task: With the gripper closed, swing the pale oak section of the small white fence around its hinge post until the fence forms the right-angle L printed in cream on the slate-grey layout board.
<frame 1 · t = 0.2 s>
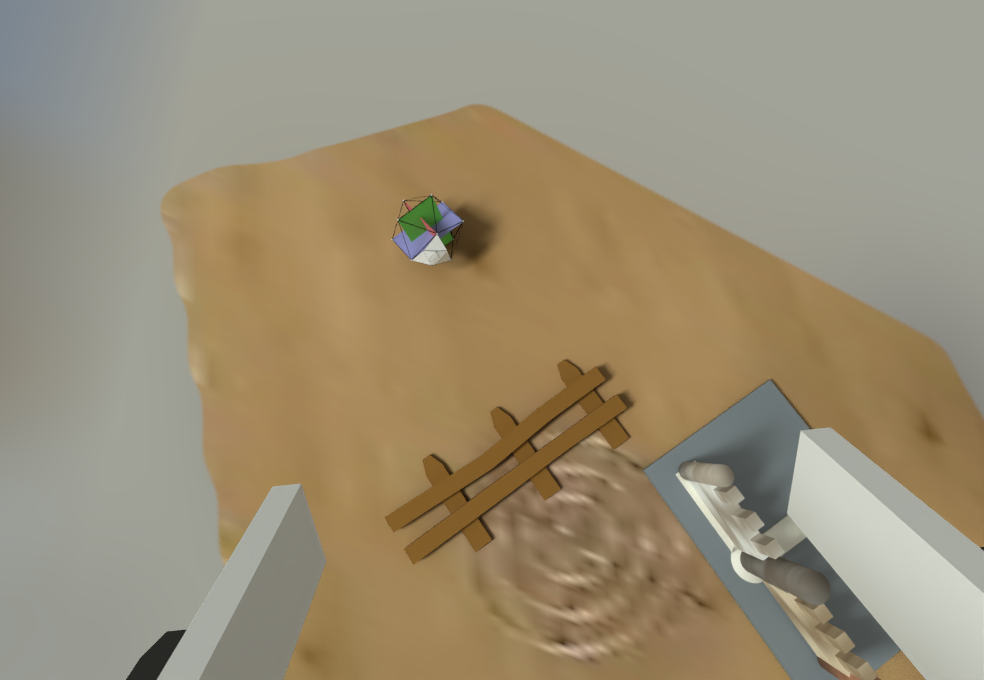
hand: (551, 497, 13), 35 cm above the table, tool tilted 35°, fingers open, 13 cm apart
layout board: (790, 535, 45), on the table
white fence section: (750, 558, 45), resting on layout board
decorative fence: (508, 461, 48), on the table
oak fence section: (825, 636, 39), point 5 cm above the table, hinge at 0.0°
geometric puzzle: (431, 243, 53), on the table
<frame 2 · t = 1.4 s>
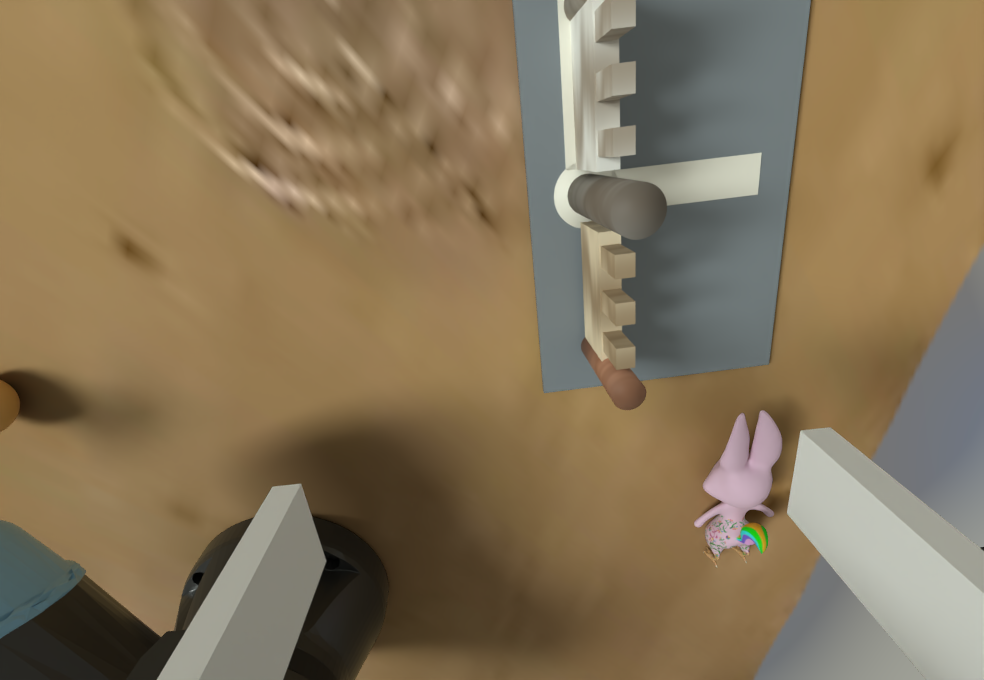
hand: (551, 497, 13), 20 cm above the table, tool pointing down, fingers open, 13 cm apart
layout board: (658, 193, 29), on the table
white fence section: (585, 194, 29), resting on layout board
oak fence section: (608, 310, 27), point 5 cm above the table, hinge at 0.0°
rabbit figure: (723, 474, 38), on the table
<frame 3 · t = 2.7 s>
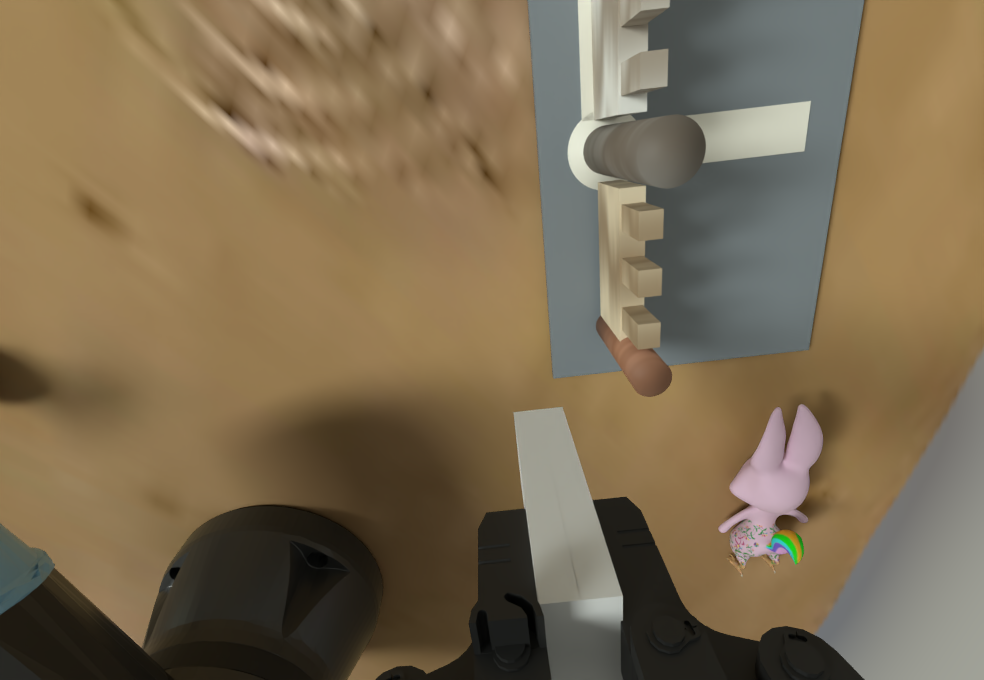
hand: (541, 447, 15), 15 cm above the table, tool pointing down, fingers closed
layout board: (687, 150, 25), on the table
white fence section: (603, 150, 25), resting on layout board
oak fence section: (629, 281, 23), point 4 cm above the table, hinge at 0.0°
rabbit figure: (752, 475, 34), on the table
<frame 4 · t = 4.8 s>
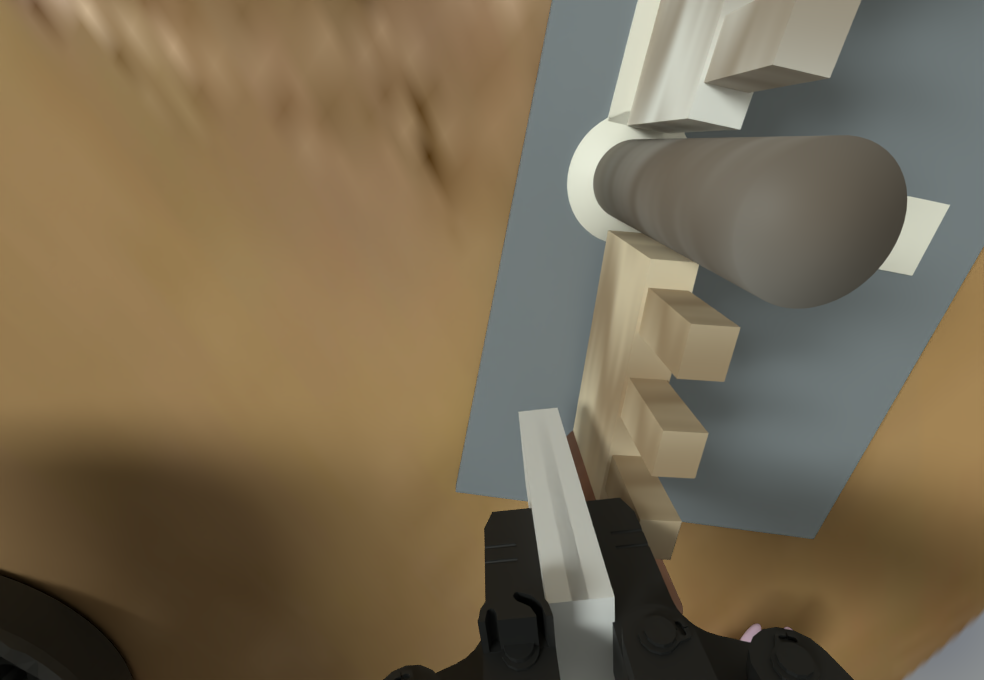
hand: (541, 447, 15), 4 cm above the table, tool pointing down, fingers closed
layout board: (750, 220, 16), on the table
white fence section: (626, 179, 15), resting on layout board
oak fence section: (631, 412, 14), point 5 cm above the table, hinge at 6.0°, touching gripper
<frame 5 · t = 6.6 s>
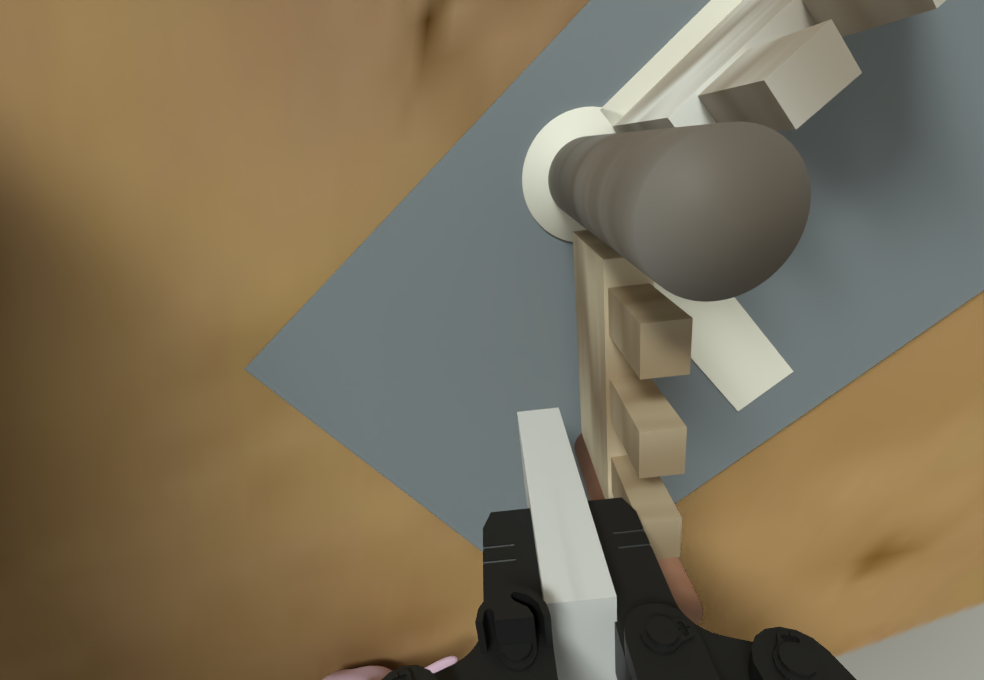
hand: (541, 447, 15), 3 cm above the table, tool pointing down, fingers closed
layout board: (654, 285, 17), on the table
white fence section: (583, 177, 15), resting on layout board
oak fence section: (623, 411, 13), point 5 cm above the table, hinge at 52.5°, touching gripper
rabbit figure: (361, 674, 24), on the table
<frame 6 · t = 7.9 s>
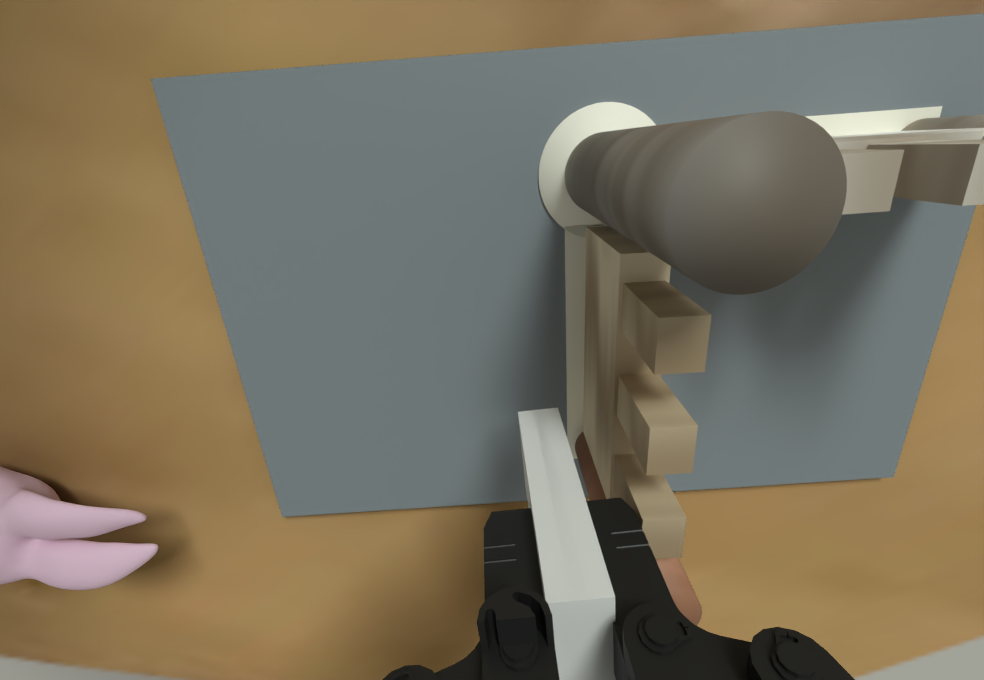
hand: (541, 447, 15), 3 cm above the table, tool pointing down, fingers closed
layout board: (583, 308, 17), on the table
white fence section: (599, 173, 15), resting on layout board
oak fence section: (630, 409, 13), point 4 cm above the table, hinge at 89.3°, touching gripper
rabbit figure: (19, 486, 20), on the table
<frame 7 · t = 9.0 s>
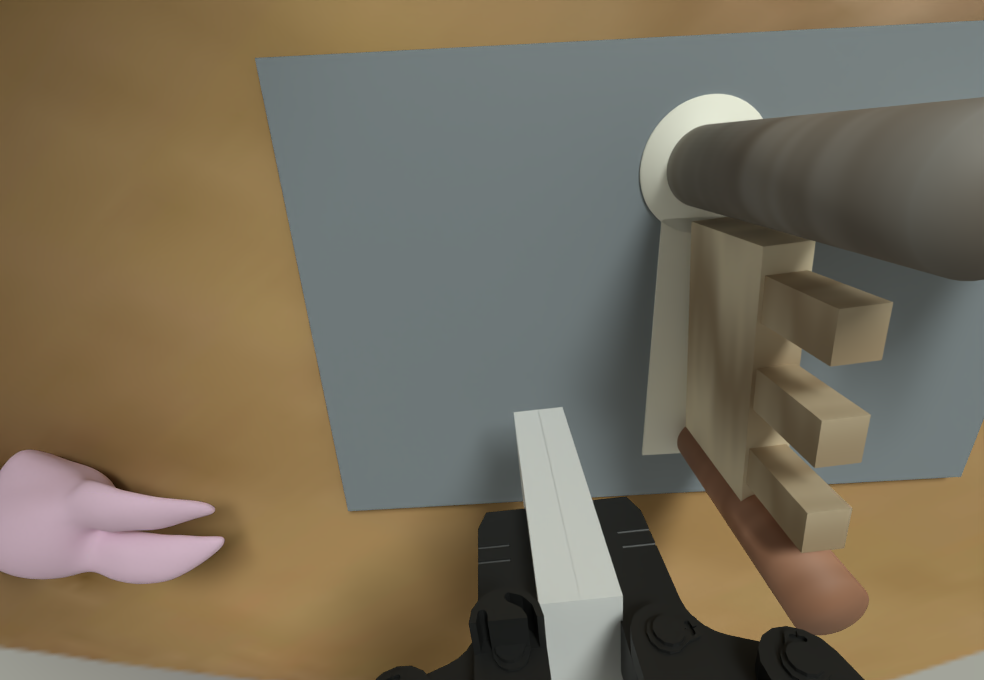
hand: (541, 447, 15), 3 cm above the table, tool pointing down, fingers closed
layout board: (669, 303, 17), on the table
white fence section: (698, 166, 15), resting on layout board
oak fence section: (761, 402, 13), point 4 cm above the table, hinge at 94.6°
rabbit figure: (69, 477, 19), on the table
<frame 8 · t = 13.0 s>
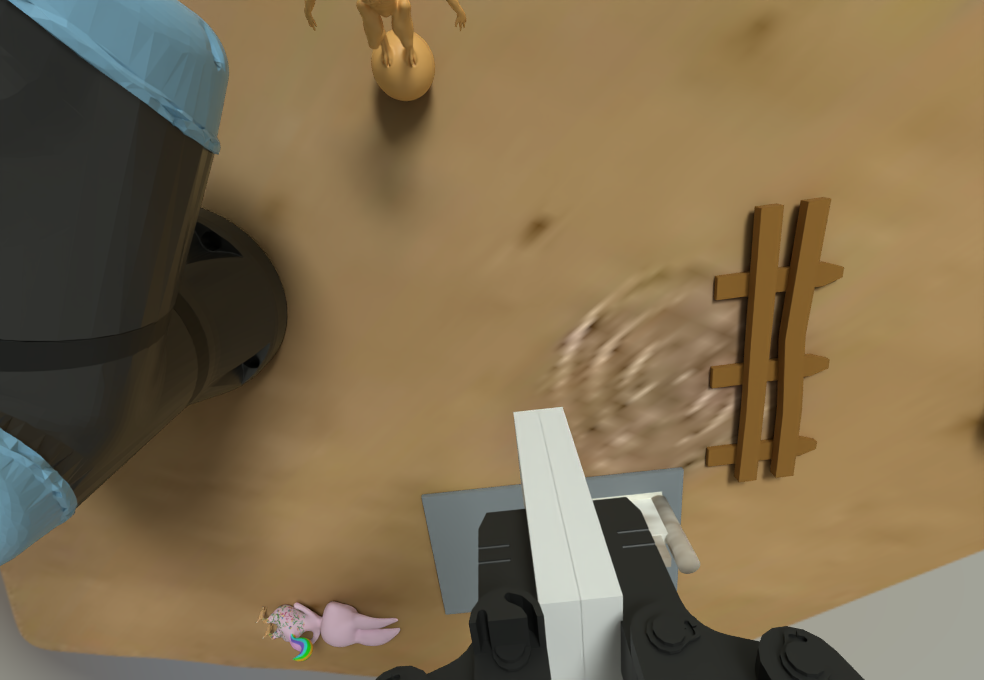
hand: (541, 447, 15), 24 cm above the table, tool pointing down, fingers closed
layout board: (556, 544, 49), on the table
white fence section: (558, 509, 47), resting on layout board
figurine: (407, 53, 32), on the table
decorative fence: (764, 347, 42), on the table
rabbit figure: (334, 605, 52), on the table
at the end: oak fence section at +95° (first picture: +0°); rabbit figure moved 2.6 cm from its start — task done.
